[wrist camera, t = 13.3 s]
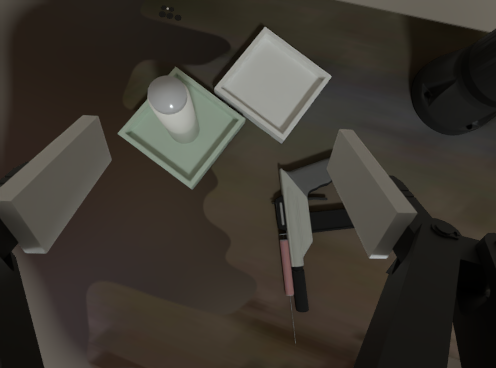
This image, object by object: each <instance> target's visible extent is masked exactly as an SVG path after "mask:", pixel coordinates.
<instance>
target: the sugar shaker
mask: <svg viewBox="0 0 496 368" xmlns="http://www.w3.org/2000/svg"><path fill="white" fill-rule="evenodd" d="M148 103H149V105H150V107H151V109H152V110H153V111H154V113H155V114H156V116H157V117H158V119H159V120H160V121H161V123H162V124H163V126H164V127H165V128H166V130H167V131H168V133H169V134H170V135H171V137H172V138H173V139H174V140H175V141H176V142H178V143H182V144H187V143H190V142H192V141H194V140H195V139H196V138H197V137H198V135H199V132H200V127H199V123H198V120H197V117H196V113H195V110H194V107H193V104H192V100H191V97H190V94H189V91H188V89H187V87H186V86H185V84H184V83H182V82H181V81H180V80H179V79H177V78H175V77H173V76H161V77H158V78H156V79H155V80H154V81H153V82H152V83H151V84H150V86H149V88H148Z"/></svg>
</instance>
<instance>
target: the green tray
mask: <svg viewBox="0 0 496 368" xmlns="http://www.w3.org/2000/svg"><path fill="white" fill-rule="evenodd" d="M168 76H173V77H175V78H177V79H179V80H180V81H181V82H182V83H184V84H185V86H186V87H187V89H188V91H189V94H190V97H191V100H192V104H193V107H194V110H195V113H196V117H197V120H198V123H199V127H200V132H199V135H198V137H197V138H196V139H195V140H194V141H192V142H190V143H187V144H182V143H178V142H176V141H175V140H174V139H173V138H172V137H171V135H170V134H169V133H168V131H167V130H166V128H165V127H164V126H163V124H162V123H161V121H160V120H159V119H158V117H157V116H156V114H155V113H154V111H153V110H152V109H151V107H150V105H149V103H148V99H147V100H146V101H145V103H144V104H143V105H142V106H141V107H140V108H139V109H138V111H137V112H136V113H135V114H134V115H133V116H132V118H131V119H130V120H129V121H128V122H127V123H126V125H125V126H124V127H123V128H122V129H121V130H120V131H119V133H118V134H119V135H120V136H121V137H123V138H124V139H126V140H127V141H128V142H129V143H131V144H132V145H134V146H135V147H136V148H137V149H139V150H140V151H141V152H143V153H144V154H145V155H147V156H148V157H149V158H151V159H152V160H153V161H155V162H156V163H158V164H159V165H160V166H162V167H163V168H164V169H166V170H167V171H168V172H169V173H171V174H172V175H173V176H175V177H176V178H177V179H179V180H180V181H181V182H183V183H184V184H185V185H187V186H188V187H189V188H191V189H193V188H194V187H195V186H196V185H197V183H198V182H199V181H200V179H201V178H202V177H203V176H204V174H205V173H206V172H207V171H208V169H209V168H210V167H211V165H212V164H213V163H214V162H215V160H216V159H217V158H218V157H219V155H220V154H221V153H222V151H223V150H224V149H225V148H226V146H227V145H228V144H229V143H230V141H231V140H232V139H233V137H234V136H235V135H236V134H237V132H238V131H239V130H240V128H241V127H242V126H243V125H244V123H245V118H244V117H242V116H241V115H240V114H238V113H237V112H236V111H234V110H233V109H232V108H230V107H229V106H228V105H226V104H225V103H223V102H222V101H221V100H219V99H218V98H217V97H215V96H214V95H213V94H211V93H210V92H209V91H207V90H206V89H205V88H203V87H202V86H201V85H199V84H198V83H197V82H195V81H194V80H193V79H191V78H190V77H189V76H187V75H186V74H185V73H183V72H182V71H181V70H179V69H178V68H177V67H175V68H174V69H173V70H172V71H171V73H170V74H169V75H168Z"/></svg>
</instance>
